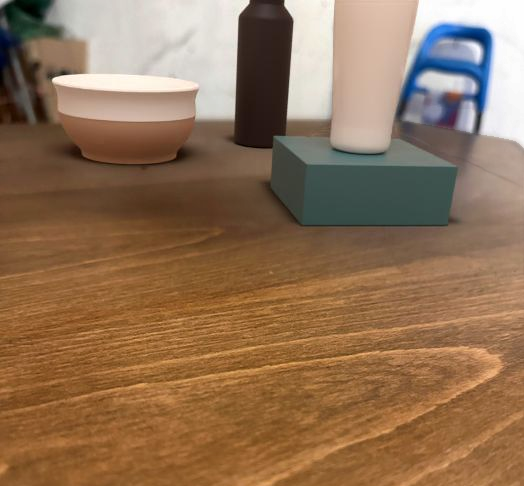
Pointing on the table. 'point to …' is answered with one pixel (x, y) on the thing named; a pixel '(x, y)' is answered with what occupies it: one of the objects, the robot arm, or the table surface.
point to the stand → (361, 183)
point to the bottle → (262, 72)
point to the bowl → (126, 115)
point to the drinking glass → (368, 71)
